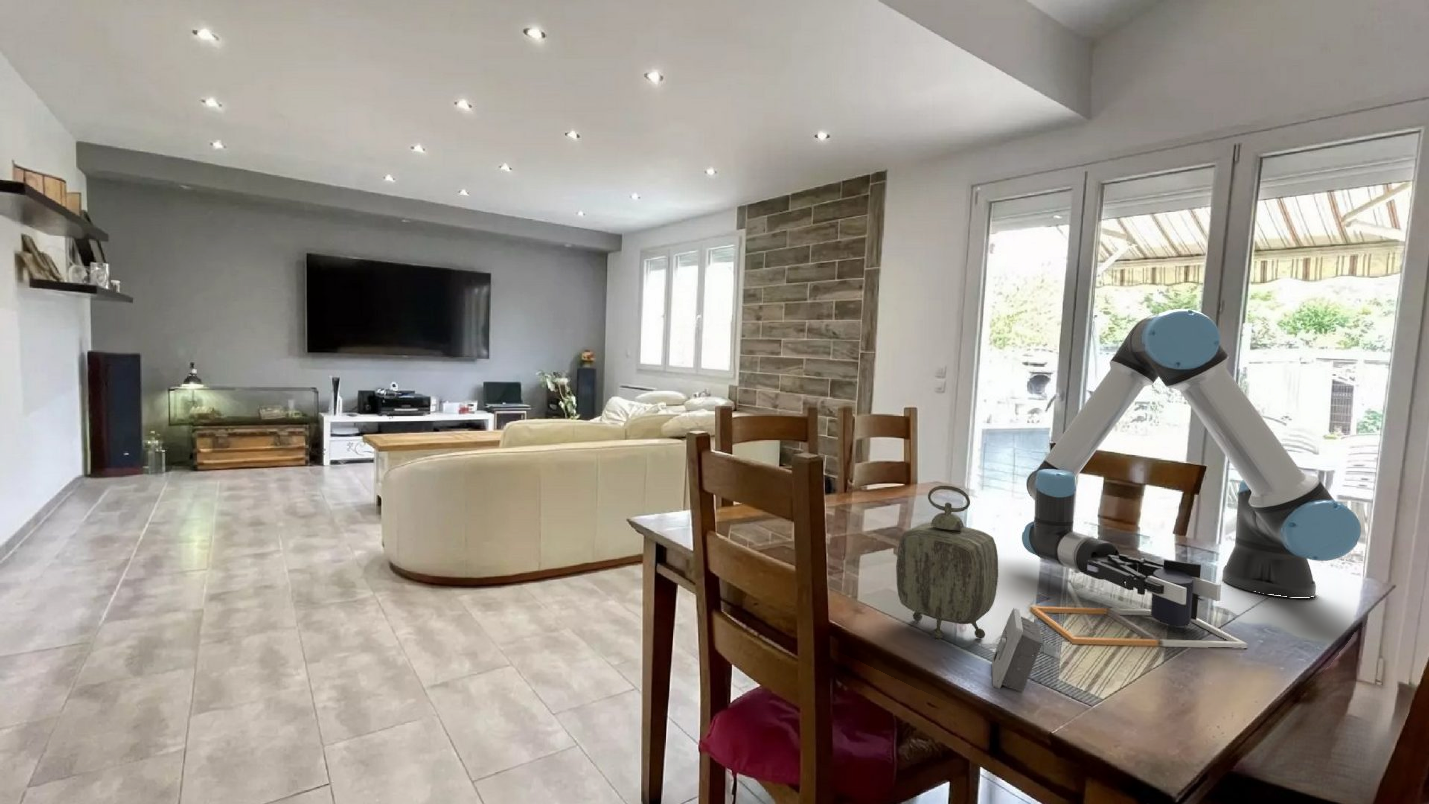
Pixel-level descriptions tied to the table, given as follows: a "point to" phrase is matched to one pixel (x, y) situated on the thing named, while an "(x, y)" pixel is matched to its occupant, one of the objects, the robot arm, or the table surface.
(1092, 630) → the table surface
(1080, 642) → the rectangular frame
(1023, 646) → the electrical switch
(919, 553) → the tabletop clock
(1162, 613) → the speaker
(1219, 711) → the table surface
